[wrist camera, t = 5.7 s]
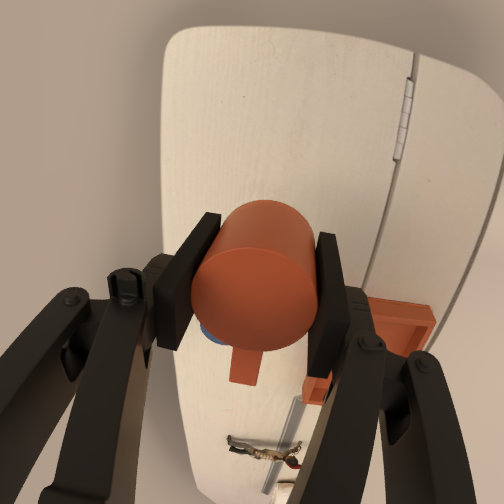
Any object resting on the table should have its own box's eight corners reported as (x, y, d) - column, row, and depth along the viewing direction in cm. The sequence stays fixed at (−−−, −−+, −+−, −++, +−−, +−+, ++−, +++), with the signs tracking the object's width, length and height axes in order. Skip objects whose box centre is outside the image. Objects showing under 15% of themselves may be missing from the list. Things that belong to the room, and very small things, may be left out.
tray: (332, 291, 34) (334, 309, 32) (429, 305, 33) (436, 322, 31) (302, 386, 42) (301, 403, 40) (381, 393, 41) (384, 410, 39)
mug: (310, 492, 63) (308, 518, 56) (273, 488, 64) (269, 515, 57) (322, 476, 58) (320, 506, 51) (280, 473, 58) (276, 503, 51)
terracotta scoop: (285, 362, 20) (278, 427, 16) (211, 349, 20) (190, 410, 16) (324, 209, 15) (332, 261, 11) (223, 192, 15) (191, 235, 11)
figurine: (242, 429, 56) (316, 443, 49) (240, 447, 55) (313, 462, 48) (225, 434, 51) (305, 451, 44) (223, 453, 50) (302, 472, 43)
